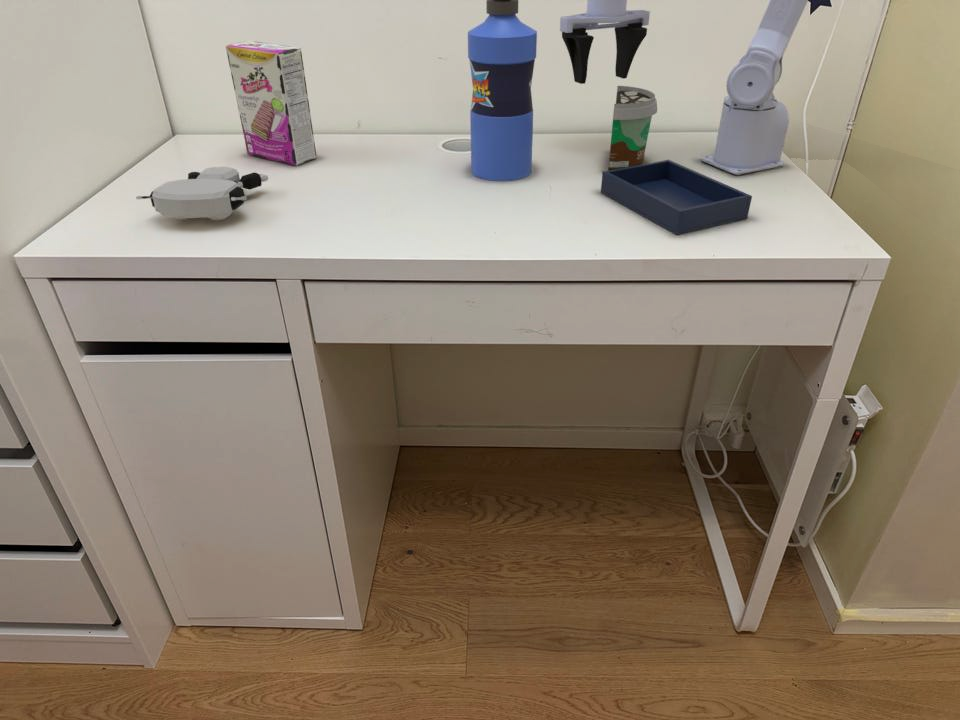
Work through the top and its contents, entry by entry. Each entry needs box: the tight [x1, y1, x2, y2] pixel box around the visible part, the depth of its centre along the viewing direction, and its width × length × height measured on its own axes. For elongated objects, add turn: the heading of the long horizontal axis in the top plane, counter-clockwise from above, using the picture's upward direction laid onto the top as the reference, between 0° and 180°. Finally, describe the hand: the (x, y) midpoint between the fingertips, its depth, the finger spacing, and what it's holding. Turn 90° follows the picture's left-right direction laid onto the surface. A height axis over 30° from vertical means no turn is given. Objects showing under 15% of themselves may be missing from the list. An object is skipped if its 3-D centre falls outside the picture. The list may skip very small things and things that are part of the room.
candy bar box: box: [224, 40, 318, 167], centre depth 105 cm, size 11×5×16 cm, turn 58°
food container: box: [607, 85, 658, 171], centre depth 103 cm, size 12×6×10 cm, turn 168°
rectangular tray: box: [600, 159, 753, 236], centre depth 90 cm, size 11×16×3 cm
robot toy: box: [135, 166, 269, 221], centre depth 90 cm, size 12×4×15 cm
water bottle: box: [467, 0, 538, 182], centre depth 96 cm, size 9×9×25 cm
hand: (600, 79), depth 107 cm, fingers open, 7 cm apart
